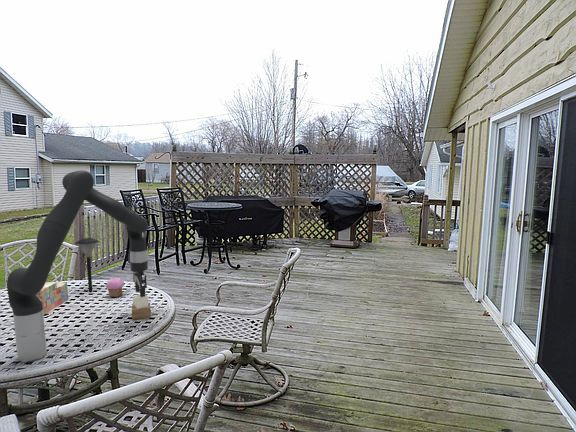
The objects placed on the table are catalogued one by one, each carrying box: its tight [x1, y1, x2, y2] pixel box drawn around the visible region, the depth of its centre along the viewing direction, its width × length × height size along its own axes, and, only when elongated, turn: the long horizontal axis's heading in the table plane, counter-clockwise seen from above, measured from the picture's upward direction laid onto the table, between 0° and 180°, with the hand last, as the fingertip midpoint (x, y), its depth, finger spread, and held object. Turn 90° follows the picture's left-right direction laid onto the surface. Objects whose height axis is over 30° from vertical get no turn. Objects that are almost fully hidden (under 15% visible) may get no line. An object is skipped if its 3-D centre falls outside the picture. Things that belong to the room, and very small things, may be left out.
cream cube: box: [133, 293, 149, 309], centre depth 186 cm, size 5×5×5 cm
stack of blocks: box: [36, 281, 69, 315], centre depth 199 cm, size 21×6×12 cm, turn 179°
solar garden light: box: [74, 237, 100, 293], centre depth 221 cm, size 12×12×30 cm
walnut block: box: [131, 302, 152, 321], centre depth 187 cm, size 8×8×5 cm
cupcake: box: [105, 277, 125, 298], centre depth 214 cm, size 9×9×10 cm
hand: (140, 294), depth 186 cm, fingers open, 8 cm apart
